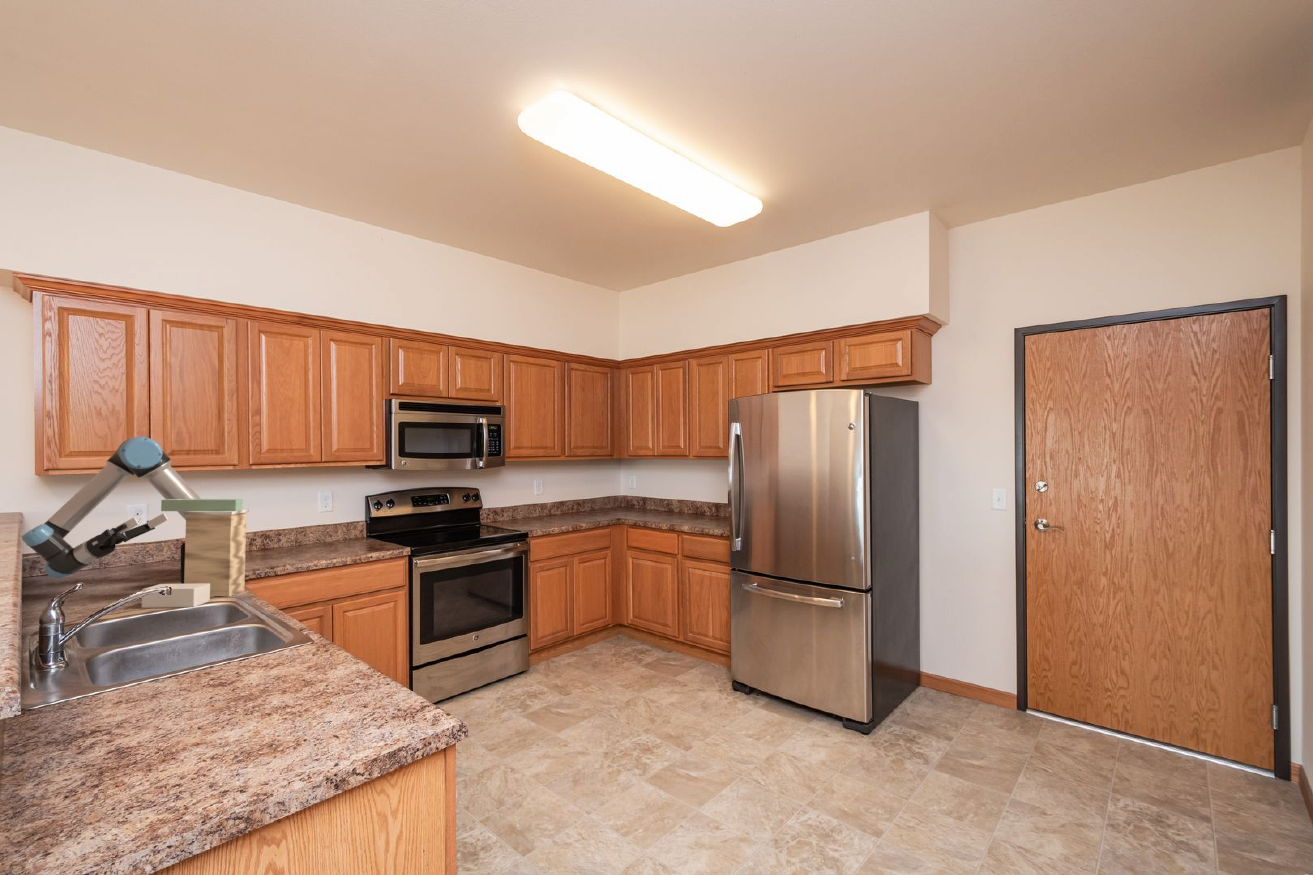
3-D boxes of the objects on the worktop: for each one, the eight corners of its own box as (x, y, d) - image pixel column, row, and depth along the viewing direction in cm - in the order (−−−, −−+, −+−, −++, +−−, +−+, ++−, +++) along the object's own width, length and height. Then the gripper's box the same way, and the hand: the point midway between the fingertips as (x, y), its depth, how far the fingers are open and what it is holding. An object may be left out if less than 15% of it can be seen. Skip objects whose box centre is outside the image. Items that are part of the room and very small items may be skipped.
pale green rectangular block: (169, 510, 214) (169, 498, 214) (242, 509, 216) (242, 499, 216) (161, 511, 210) (161, 499, 210) (235, 511, 212) (235, 499, 212)
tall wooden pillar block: (200, 591, 217) (202, 509, 218) (246, 590, 218) (248, 509, 219) (181, 597, 207) (183, 511, 208) (229, 597, 208) (231, 511, 209)
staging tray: (159, 601, 202) (160, 583, 202) (209, 600, 203) (210, 583, 203) (141, 607, 194) (142, 589, 194) (193, 606, 195) (193, 588, 195)
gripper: (129, 551, 222) (182, 523, 224) (69, 564, 197) (128, 532, 199) (119, 534, 222) (171, 506, 224) (57, 545, 197) (117, 512, 199)
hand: (151, 518), depth 211 cm, fingers open, 13 cm apart
